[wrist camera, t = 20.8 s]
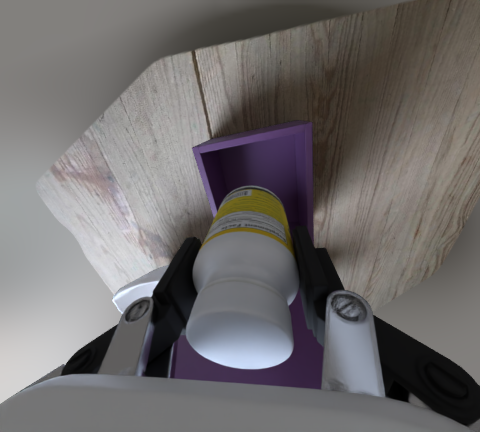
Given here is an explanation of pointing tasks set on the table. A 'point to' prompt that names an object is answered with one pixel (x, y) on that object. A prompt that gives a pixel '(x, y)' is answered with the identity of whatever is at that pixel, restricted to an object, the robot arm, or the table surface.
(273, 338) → the supplement bottle
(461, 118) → the table surface
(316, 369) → the lid
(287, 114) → the table surface
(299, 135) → the purple box
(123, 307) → the bowl
